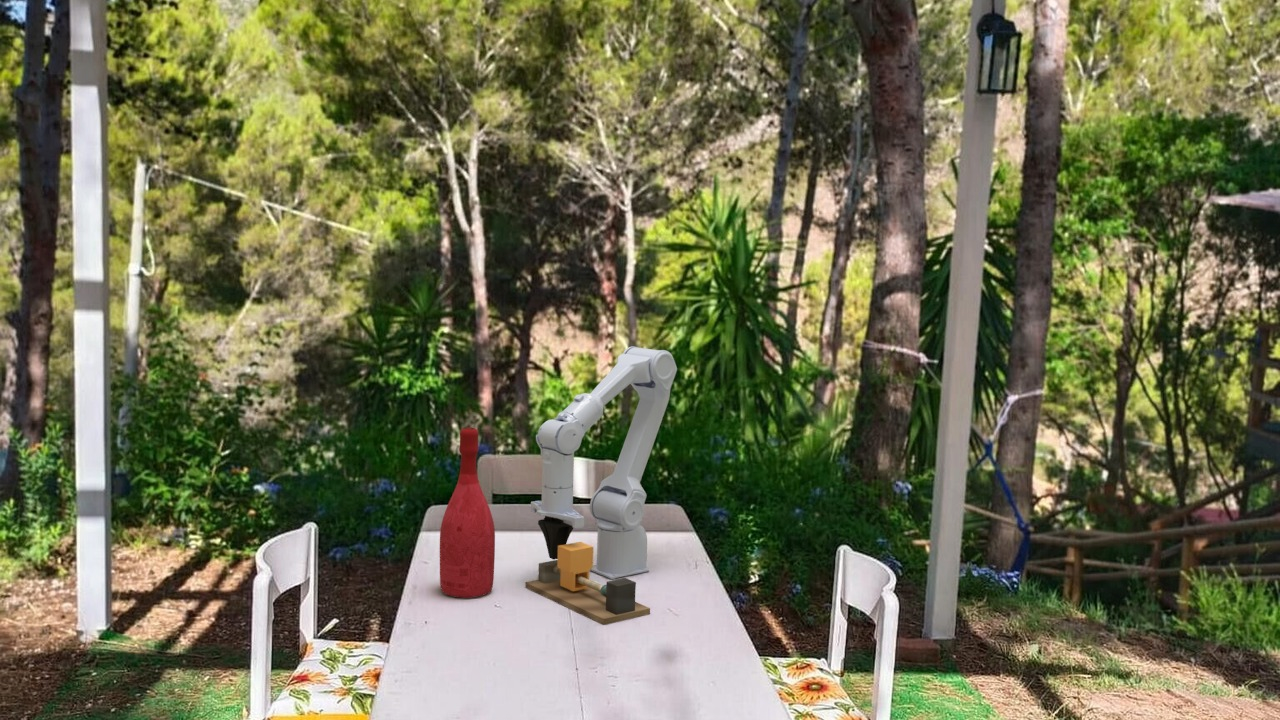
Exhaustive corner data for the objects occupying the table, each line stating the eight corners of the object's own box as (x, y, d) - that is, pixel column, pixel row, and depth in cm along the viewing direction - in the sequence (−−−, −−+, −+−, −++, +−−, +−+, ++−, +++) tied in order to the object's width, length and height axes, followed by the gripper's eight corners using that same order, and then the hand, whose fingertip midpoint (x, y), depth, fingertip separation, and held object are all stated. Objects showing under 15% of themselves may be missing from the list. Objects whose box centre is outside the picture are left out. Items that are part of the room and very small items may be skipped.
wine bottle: (503, 587, 206) (506, 426, 202) (478, 603, 196) (481, 434, 193) (455, 580, 209) (457, 421, 206) (429, 595, 200) (430, 429, 196)
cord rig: (525, 587, 206) (526, 555, 205) (569, 578, 212) (570, 547, 211) (603, 624, 187) (604, 590, 187) (650, 613, 194) (651, 580, 193)
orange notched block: (556, 586, 202) (557, 545, 201) (579, 581, 205) (580, 541, 205) (569, 592, 199) (570, 550, 198) (592, 587, 202) (593, 546, 201)
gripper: (517, 480, 208) (516, 551, 210) (562, 495, 197) (560, 571, 198) (549, 476, 213) (547, 546, 214) (594, 491, 201) (592, 564, 203)
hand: (555, 557), depth 207 cm, fingers closed
